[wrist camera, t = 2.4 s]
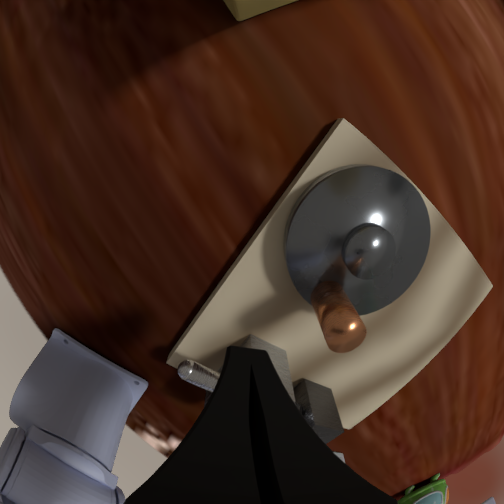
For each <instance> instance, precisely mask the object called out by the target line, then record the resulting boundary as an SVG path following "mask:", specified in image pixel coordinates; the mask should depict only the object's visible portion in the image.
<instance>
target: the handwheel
mask: <svg viewBox="0 0 504 504" xmlns="http://www.w3.org/2000/svg"><path fill="white" fill-rule="evenodd" d="M430 236H431V227H430V219H429V214H428V210H427V207H426V205H425V202H424V200H423V198H422V197H421V195H420V193H419V192H418V191H417V189H416V188H415V187H414V186H413V185H412V184H411V183H410V182H409V181H408V180H407V179H406V178H404V177H403V176H401V175H400V174H398V173H396V172H393V171H391V170H388V169H385V168H381V167H378V166H374V165H368V164H351V165H346V166H342V167H339V168H336V169H333V170H331V171H329V172H327V173H325V174H323V175H322V176H321V177H319V178H318V179H316V180H315V181H314V182H313V183H312V184H310V185H309V186H308V187H307V188H306V189H305V190H304V192H303V193H302V194H301V195H300V196H299V198H298V200H297V201H296V203H295V204H294V206H293V208H292V210H291V212H290V214H289V217H288V220H287V223H286V226H285V232H284V241H283V249H284V257H285V262H286V265H287V269H288V272H289V274H290V277H291V280H292V282H293V284H294V286H295V288H296V289H297V291H298V292H299V294H300V295H301V296H302V297H303V298H304V299H305V300H306V301H307V302H308V303H309V304H310V305H312V306H313V309H314V311H315V314H316V317H317V319H318V322H319V325H320V327H321V330H322V333H323V335H324V338H325V341H326V343H327V346H328V348H329V349H330V350H331V351H333V352H336V353H346V352H349V351H352V350H354V349H355V348H357V347H358V346H359V345H360V344H361V343H362V342H363V341H364V339H365V337H366V333H367V330H366V327H365V325H364V323H363V321H362V320H361V318H360V316H361V315H366V314H369V313H372V312H375V311H378V310H380V309H382V308H384V307H386V306H387V305H389V304H391V303H392V302H394V301H395V300H396V299H398V298H399V297H400V296H401V295H402V294H403V293H404V292H405V291H406V290H407V289H408V288H409V287H410V286H411V285H412V283H413V282H414V281H415V279H416V278H417V276H418V274H419V273H420V271H421V269H422V267H423V265H424V262H425V260H426V257H427V254H428V250H429V245H430Z"/></svg>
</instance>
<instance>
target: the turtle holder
mask: <svg viewBox="0 0 504 504" xmlns="http://www.w3.org/2000/svg"><path fill="white" fill-rule="evenodd" d="M439 476H440V473H438V474H436V475H434V476H433V477H431V481H430V482H431V483H429V484H427V485H425V486H423V487H421V488H419V489H417V490H415V491H413V489H414V487H415V486H414V485H412V486H410V487H409V488H407V489H406V491H405V495H404V497H402V498H401V499H400V500H398V501H397V503H398V504H447V502H448V499H449V490H448V486H447V485H446V483H445V482H446V481H445V479H440V480H437V479H438V477H439Z"/></svg>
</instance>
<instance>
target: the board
mask: <svg viewBox="0 0 504 504" xmlns="http://www.w3.org/2000/svg"><path fill="white" fill-rule="evenodd" d="M351 164H368V165H374V166H378V167H381V168H385V169H388V170H391V171H393V172H396V173H398V174H400V175H401V176H403V177H404V178H406V179H407V180H408V181H409V182H410V183H411V184H412V185H413V186H414V187H415V188H416V189H417V191H418V192H419V193H420V195H421V197H422V198H423V200H424V202H425V205H426V207H427V210H428V214H429V219H430V227H431V236H430V245H429V250H428V254H427V257H426V260H425V262H424V265H423V267H422V269H421V271H420V273H419V274H418V276H417V278H416V279H415V281H414V282H413V283H412V285H411V286H410V287H409V288H408V289H407V290H406V291H405V292H404V293H403V294H402V295H401V296H400V297H399V298H398V299H396V300H395V301H394V302H392V303H391V304H389V305H387V306H386V307H384V308H382V309H380V310H378V311H375V312H372V313H369V314H366V315H361V316H360V318H361V320H362V321H363V323H364V325H365V327H366V330H367V333H366V337H365V339H364V341H363V342H362V343H361V344H360V345H359V346H358V347H357V348H355V349H354V350H352V351H349V352H346V353H336V352H333V351H331V350H330V349H329V348H328V346H327V343H326V341H325V338H324V335H323V333H322V330H321V327H320V325H319V322H318V319H317V317H316V314H315V311H314V309H313V306H312V305H310V304H309V303H308V302H307V301H306V300H305V299H304V298H303V297H302V296H301V295H300V294H299V292H298V291H297V289H296V288H295V286H294V284H293V282H292V280H291V277H290V274H289V272H288V269H287V265H286V262H285V257H284V249H283V241H284V232H285V226H286V223H287V220H288V217H289V214H290V212H291V210H292V208H293V206H294V204H295V203H296V201H297V200H298V198H299V196H300V195H301V194H302V193H303V192H304V190H305V189H306V188H307V187H308V186H309V185H310V184H312V183H313V182H314V181H315V180H316V179H318V178H319V177H321V176H322V175H323V174H325V173H327V172H329V171H331V170H333V169H336V168H339V167H342V166H346V165H351ZM492 287H493V285H492V284H491V282H490V281H489V279H488V278H487V276H486V274H485V273H484V271H483V270H482V268H481V267H480V265H479V264H478V263H477V261H476V260H475V258H474V257H473V255H472V254H471V253H470V251H469V250H468V248H467V247H466V246H465V244H464V243H463V242H462V240H461V239H460V238H459V236H458V235H457V234H456V233H455V231H454V230H453V229H452V227H451V226H450V225H449V224H448V222H447V221H446V220H445V219H444V218H443V216H442V215H441V214H440V213H439V212H438V210H437V209H436V208H435V207H434V206H433V204H432V203H431V202H430V201H429V200H428V199H427V198H426V197H425V195H424V194H423V193H422V192H421V191H420V190H419V189H418V188H417V187H416V186H415V184H414V183H413V182H412V181H411V180H410V179H409V178H408V177H407V176H406V175H405V174H404V173H403V172H402V171H401V170H400V169H399V168H398V167H397V166H396V165H395V164H394V163H393V162H392V161H391V160H390V159H389V158H388V157H387V156H386V155H385V154H384V153H383V152H382V151H381V150H379V149H378V148H377V147H376V146H375V145H374V144H373V143H372V142H371V141H370V140H369V139H367V138H366V137H365V136H364V135H363V134H362V133H361V132H360V131H358V130H357V129H356V128H355V127H354V126H353V125H351V124H350V123H349V122H348V121H347V120H345V119H344V118H341V119H338V120H337V121H336V122H335V124H334V125H333V126H332V128H331V129H330V130H329V132H328V133H327V134H326V136H325V137H324V139H323V140H322V141H321V143H320V144H319V145H318V147H317V148H316V149H315V151H314V152H313V154H312V155H311V156H310V158H309V159H308V160H307V162H306V163H305V165H304V166H303V167H302V169H301V170H300V171H299V173H298V174H297V176H296V177H295V178H294V180H293V181H292V182H291V184H290V185H289V187H288V188H287V189H286V191H285V192H284V193H283V195H282V196H281V198H280V199H279V200H278V202H277V203H276V204H275V206H274V207H273V209H272V210H271V211H270V213H269V214H268V216H267V217H266V218H265V220H264V221H263V222H262V224H261V225H260V227H259V228H258V229H257V231H256V232H255V234H254V235H253V236H252V238H251V239H250V241H249V242H248V243H247V245H246V246H245V248H244V249H243V250H242V252H241V253H240V255H239V256H238V257H237V259H236V260H235V262H234V263H233V264H232V266H231V267H230V269H229V270H228V271H227V273H226V274H225V276H224V277H223V278H222V280H221V281H220V283H219V284H218V285H217V287H216V288H215V290H214V291H213V292H212V294H211V295H210V297H209V298H208V299H207V301H206V302H205V304H204V305H203V306H202V308H201V309H200V311H199V312H198V314H197V315H196V316H195V318H194V319H193V321H192V322H191V323H190V325H189V326H188V328H187V329H186V331H185V332H184V333H183V335H182V336H181V338H180V339H179V340H178V342H177V343H176V345H175V346H174V348H173V349H172V350H171V352H170V353H169V355H168V359H167V362H166V363H167V364H169V365H171V366H173V367H175V368H177V369H178V366H179V364H180V363H181V362H182V361H184V360H192V361H195V362H197V363H199V364H201V365H203V366H205V367H207V368H210V369H212V370H214V371H216V372H217V371H218V370H219V369H220V367H221V366H222V365H223V363H224V358H225V354H226V349H227V347H229V346H230V345H231V346H238V347H239V346H240V345H241V344H242V343H243V342H244V341H245V339H246V338H247V337H248V336H249V335H250V334H252V335H254V336H256V337H258V338H260V339H262V340H264V341H266V342H269V343H271V344H273V345H275V346H277V347H279V348H281V349H283V350H285V351H286V354H287V359H288V364H289V369H290V375H291V380H292V385H293V388H294V387H295V386H296V385H298V384H299V383H300V382H301V381H302V380H303V379H304V378H305V379H307V380H310V381H312V382H315V383H317V384H320V385H322V386H325V387H328V388H330V389H331V390H332V393H333V396H334V400H335V403H336V406H337V409H338V413H339V416H340V419H341V422H342V426H343V428H346V429H351V428H352V427H353V426H355V425H356V424H357V423H359V422H360V421H362V420H363V419H364V418H366V417H367V416H368V415H369V414H371V413H372V412H373V411H375V410H376V409H377V408H378V407H380V406H381V405H382V404H383V403H385V402H386V401H387V400H388V399H389V398H391V397H392V396H393V395H394V394H395V393H396V392H398V391H399V390H400V389H401V388H402V387H403V386H404V385H405V384H407V383H408V382H409V381H410V380H411V379H412V378H413V377H414V376H415V375H416V374H417V373H418V372H419V371H421V370H422V369H423V368H424V367H425V366H426V365H427V364H428V363H429V362H430V361H431V360H432V359H433V358H434V357H435V356H436V355H437V353H438V352H439V351H440V350H441V349H442V348H443V347H444V346H445V345H446V344H447V343H448V342H449V341H450V339H451V338H452V337H453V336H454V335H455V334H456V333H457V332H458V330H459V329H460V328H461V327H462V326H463V324H464V323H465V322H466V321H467V320H468V318H469V317H470V316H471V315H472V313H473V312H474V311H475V310H476V308H477V307H478V306H479V305H480V303H481V302H482V301H483V299H484V298H485V297H486V295H487V294H488V292H489V291H490V290H491V288H492Z"/></svg>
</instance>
